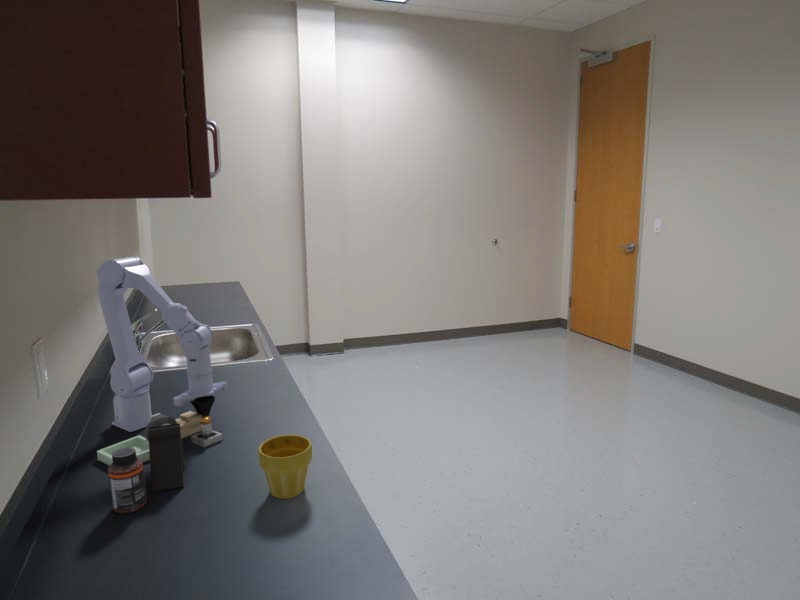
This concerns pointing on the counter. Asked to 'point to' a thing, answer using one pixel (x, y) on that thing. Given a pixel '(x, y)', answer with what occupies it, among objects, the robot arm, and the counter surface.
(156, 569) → the counter surface
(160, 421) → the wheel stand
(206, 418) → the pin
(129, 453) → the supplement bottle
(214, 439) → the pin socket
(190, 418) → the block
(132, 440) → the tray
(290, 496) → the plant pot
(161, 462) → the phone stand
